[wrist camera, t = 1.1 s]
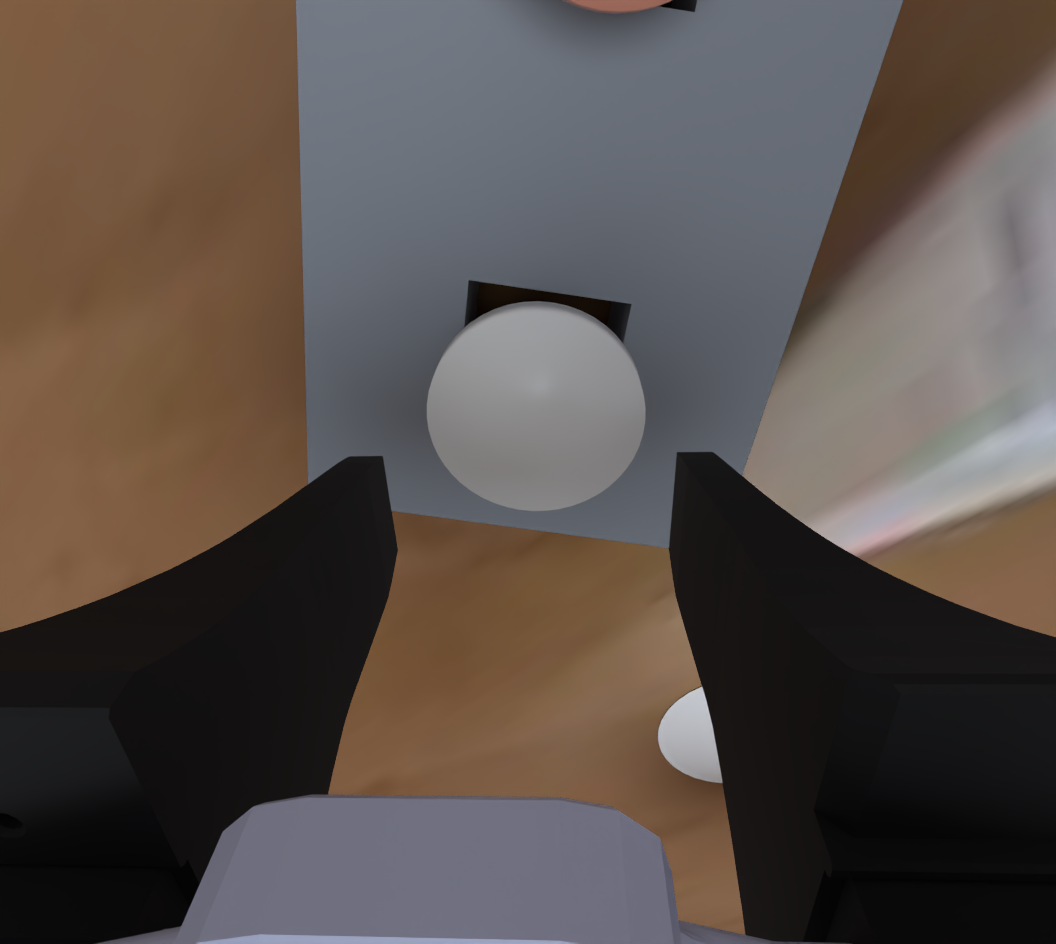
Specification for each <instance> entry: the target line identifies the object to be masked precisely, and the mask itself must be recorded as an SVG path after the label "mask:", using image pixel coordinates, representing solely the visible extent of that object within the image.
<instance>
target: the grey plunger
mask: <svg viewBox="0 0 1056 944" xmlns="http://www.w3.org/2000/svg"><path fill="white" fill-rule="evenodd" d="M645 411H646V408H645V400H644V394H643V390H642V386H641V382H640V379H639V375H638V371H637V368H636V366H635V363H634V361H633V359H632V357H631V355H630V353H629V352H628V350H627V348H626V347H625V345H624V344H623V343H622V342H621V340H620V339H619V338H618V337H617V335H616V334H615V333H614V332H612V331H611V330H610V329H609V328H608V327H607V326H606V325H605V324H603V323H602V322H600V321H599V320H597V319H596V318H594V317H593V316H591V315H589V314H587V313H585V312H583V311H581V310H578V309H576V308H573V307H570V306H567V305H563V304H558V303H553V302H542V301H531V302H520V303H514V304H509V305H505V306H502V307H499V308H496V309H494V310H491V311H489V312H487V313H485V314H483V315H481V316H480V317H478V318H477V319H475V320H473V321H472V322H470V323H469V324H468V325H467V326H466V327H465V328H463V329H462V330H461V331H460V332H459V333H458V334H457V335H456V336H455V338H454V339H453V340H452V341H451V342H450V344H449V345H448V347H447V348H446V350H445V351H444V353H443V355H442V357H441V359H440V362H439V364H438V366H437V369H436V371H435V374H434V376H433V379H432V382H431V385H430V389H429V392H428V399H427V422H428V429H429V433H430V436H431V440H432V443H433V445H434V447H435V450H436V452H437V454H438V456H439V457H440V459H441V461H442V462H443V464H444V465H445V467H446V468H447V469H448V470H449V471H450V473H451V474H452V475H453V476H454V477H455V478H456V479H457V480H458V481H459V482H460V483H461V484H462V485H464V486H465V487H466V488H468V489H469V490H470V491H472V492H473V493H475V494H477V495H479V496H480V497H482V498H484V499H486V500H488V501H491V502H493V503H495V504H498V505H502V506H505V507H508V508H513V509H518V510H527V511H549V510H556V509H562V508H566V507H570V506H574V505H576V504H579V503H581V502H584V501H586V500H588V499H590V498H592V497H594V496H596V495H598V494H599V493H601V492H602V491H604V490H605V489H607V488H608V487H609V486H610V485H611V484H613V483H614V482H615V481H616V480H617V479H618V478H619V477H620V476H621V475H622V474H623V472H624V471H625V470H626V469H627V467H628V466H629V464H630V463H631V461H632V460H633V458H634V456H635V454H636V452H637V450H638V448H639V446H640V442H641V439H642V436H643V432H644V426H645Z"/></svg>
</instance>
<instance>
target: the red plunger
mask: <svg viewBox="0 0 1056 944" xmlns="http://www.w3.org/2000/svg"><path fill="white" fill-rule="evenodd" d="M563 1H564V2H567V3H569V4H572V5H574V6H576V7H579V8H582V9H586V10H590V11H594V12H598V13H610V14H623V13H635V12H639V11H644V10H648V9H652V8H655V7H658V6H660V5H663V4H665V3H668V2H670V1H672V0H563Z"/></svg>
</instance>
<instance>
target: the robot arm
mask: <svg viewBox="0 0 1056 944" xmlns="http://www.w3.org/2000/svg"><path fill="white" fill-rule="evenodd" d="M397 551H398V549H397V543H396V536H395V530H394V524H393V517H392V511H391V504H390V498H389V492H388V485H387V479H386V473H385V466H384V460H383V456H349V457H347V458H345V459H344V460H342V461H340V462H339V463H337V464H336V465H334V466H333V467H331V468H330V469H329V470H327V471H326V472H324V473H323V474H322V475H320V476H319V477H318V478H316V479H315V480H313V481H312V482H311V483H309V484H308V485H307V486H305V487H304V488H302V489H301V490H300V491H298V492H297V493H295V494H294V495H293V496H291V497H290V498H288V499H287V500H286V501H284V502H283V503H282V504H280V505H279V506H277V507H276V508H274V509H273V510H271V511H270V512H268V513H267V514H265V515H264V516H262V517H261V518H259V519H257V520H256V521H254V522H253V523H251V524H250V525H248V526H247V527H245V528H244V529H242V530H241V531H239V532H237V533H236V534H234V535H233V536H231V537H229V538H228V539H226V540H224V541H223V542H221V543H219V544H217V545H216V546H214V547H212V548H210V549H209V550H207V551H205V552H203V553H201V554H199V555H197V556H195V557H193V558H192V559H190V560H188V561H186V562H184V563H182V564H180V565H178V566H176V567H174V568H172V569H170V570H168V571H165V572H163V573H161V574H159V575H156V576H154V577H152V578H149V579H147V580H145V581H143V582H140V583H138V584H136V585H134V586H131V587H129V588H127V589H124V590H122V591H120V592H118V593H115V594H113V595H110V596H108V597H105V598H103V599H100V600H97V601H95V602H92V603H89V604H87V605H84V606H81V607H79V608H76V609H73V610H70V611H67V612H64V613H61V614H58V615H55V616H52V617H50V618H47V619H44V620H41V621H37V622H34V623H31V624H28V625H25V626H22V627H18V628H15V629H11V630H8V631H4V632H0V944H1056V637H1052V636H1049V635H1046V634H1042V633H1039V632H1035V631H1032V630H1029V629H1025V628H1022V627H1019V626H1016V625H1013V624H1010V623H1007V622H1004V621H1001V620H998V619H996V618H993V617H990V616H987V615H985V614H982V613H979V612H977V611H974V610H971V609H968V608H966V607H963V606H960V605H958V604H955V603H953V602H950V601H948V600H946V599H943V598H941V597H938V596H936V595H933V594H931V593H929V592H927V591H924V590H922V589H920V588H918V587H916V586H913V585H911V584H909V583H907V582H905V581H903V580H900V579H898V578H896V577H894V576H892V575H890V574H888V573H886V572H884V571H882V570H880V569H878V568H876V567H874V566H872V565H870V564H868V563H867V562H865V561H863V560H861V559H860V558H858V557H856V556H854V555H853V554H851V553H849V552H847V551H845V550H844V549H842V548H840V547H838V546H837V545H835V544H834V543H832V542H830V541H829V540H827V539H825V538H824V537H822V536H821V535H819V534H818V533H816V532H815V531H813V530H812V529H811V528H809V527H808V526H806V525H805V524H803V523H802V522H800V521H799V520H797V519H796V518H795V517H793V516H792V515H791V514H789V513H788V512H786V511H785V510H784V509H782V508H781V507H780V506H778V505H777V504H776V503H775V502H773V501H772V500H771V499H769V498H768V497H767V496H766V495H764V494H763V493H762V492H761V491H759V490H758V489H757V488H756V487H755V486H753V485H752V484H751V483H750V482H749V481H747V480H746V479H745V478H744V477H743V476H741V475H740V474H739V473H738V472H737V471H736V470H734V469H733V468H732V467H731V466H730V465H728V464H727V463H726V462H725V461H724V460H723V459H721V458H720V457H719V456H718V455H716V454H715V453H714V452H677V456H676V468H675V480H674V492H673V504H672V517H671V529H670V541H669V553H670V560H671V567H672V574H673V581H674V587H675V594H676V598H677V602H678V605H679V609H680V612H681V616H682V619H683V623H684V626H685V630H686V633H687V637H688V640H689V643H690V647H691V650H692V654H693V657H694V660H695V664H696V667H697V671H698V674H699V677H700V681H701V684H702V687H703V691H704V694H705V698H706V701H707V705H708V709H709V713H710V718H711V722H712V726H713V731H714V737H715V743H716V748H717V754H718V759H719V765H720V771H721V776H722V782H723V788H724V794H725V800H726V807H727V813H728V819H729V825H730V831H731V837H732V844H733V850H734V857H735V864H736V871H737V877H738V884H739V891H740V898H741V904H742V911H743V919H744V926H745V934H746V935H743V934H738V933H734V932H729V931H725V930H720V929H716V928H711V927H707V926H702V925H698V924H693V923H689V922H684V921H680V920H678V915H677V908H676V901H675V894H674V887H673V879H672V872H671V869H670V866H669V863H668V860H667V857H666V854H665V851H664V848H663V845H662V843H661V840H660V837H658V836H657V835H655V834H654V833H652V832H650V831H649V830H647V829H646V828H644V827H643V826H641V825H640V824H638V823H637V822H635V821H634V820H632V819H631V818H629V817H627V816H626V815H624V814H623V813H621V812H620V811H618V810H617V809H615V808H614V807H612V806H606V805H601V804H595V803H589V802H584V801H578V800H573V799H567V798H562V797H492V796H403V795H328V791H329V786H330V782H331V777H332V773H333V769H334V764H335V760H336V756H337V752H338V748H339V743H340V739H341V735H342V731H343V727H344V723H345V720H346V716H347V713H348V710H349V707H350V703H351V700H352V697H353V694H354V692H355V689H356V686H357V683H358V681H359V678H360V675H361V672H362V670H363V667H364V664H365V661H366V658H367V656H368V653H369V650H370V647H371V645H372V642H373V639H374V636H375V634H376V631H377V628H378V625H379V622H380V619H381V617H382V614H383V611H384V608H385V605H386V602H387V599H388V596H389V591H390V587H391V582H392V577H393V572H394V567H395V562H396V556H397Z"/></svg>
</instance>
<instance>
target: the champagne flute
mask: <svg viewBox="0 0 1056 944" xmlns="http://www.w3.org/2000/svg"><path fill="white" fill-rule="evenodd" d="M658 742H659V746H660V750H661V752H662V753H663V755H664V757H665V758H666V759H667V760H668V761H669V763H670V764H671V765H672V766H673V767H675V768H676V769H678V770H679V771H681V772H683V773H684V774H687V775H689V776H691V777H694V778H697V779H701V780H704V781H708V782H717V783H723V782H722V776H721V771H720V765H719V759H718V754H717V748H716V743H715V737H714V731H713V726H712V722H711V718H710V713H709V709H708V705H707V701H706V698H705V694H704V691H703V687H700V688H698V689H696V690H694V691H692V692H689V693H688V694H686V695H685V696H683V697H682V698H681V699H679V700H678V701H676V702H675V703H674V704H673V705H672V706H671V707H670V708H669V709H668V711H667V712H666V714H665V715H664V717H663V719H662V720H661V723H660V726H659V729H658Z"/></svg>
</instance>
